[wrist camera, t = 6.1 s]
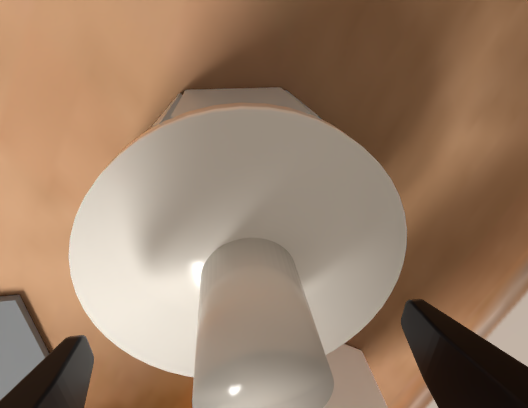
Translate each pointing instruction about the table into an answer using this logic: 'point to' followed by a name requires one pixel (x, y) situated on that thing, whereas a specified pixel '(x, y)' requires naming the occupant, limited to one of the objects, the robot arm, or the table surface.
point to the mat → (17, 343)
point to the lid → (239, 251)
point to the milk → (352, 380)
